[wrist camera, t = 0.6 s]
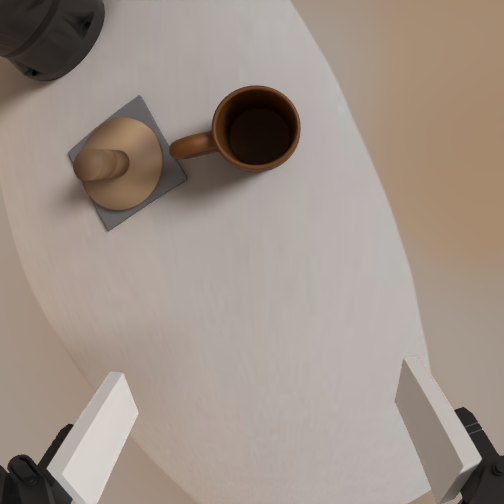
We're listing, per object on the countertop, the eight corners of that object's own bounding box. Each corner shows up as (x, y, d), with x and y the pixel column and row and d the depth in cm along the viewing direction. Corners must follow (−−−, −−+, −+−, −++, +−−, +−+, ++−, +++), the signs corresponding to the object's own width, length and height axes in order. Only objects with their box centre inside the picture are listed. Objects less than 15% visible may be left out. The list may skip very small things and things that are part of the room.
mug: (196, 187, 35) (172, 194, 26) (181, 124, 34) (152, 111, 24) (301, 163, 34) (311, 161, 25) (285, 98, 32) (290, 75, 23)
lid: (71, 152, 34) (32, 153, 27) (137, 100, 32) (105, 87, 25) (109, 225, 36) (74, 240, 29) (180, 177, 35) (155, 181, 27)
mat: (70, 152, 35) (67, 152, 34) (141, 96, 33) (139, 95, 32) (110, 229, 37) (108, 230, 37) (187, 179, 35) (186, 179, 35)
